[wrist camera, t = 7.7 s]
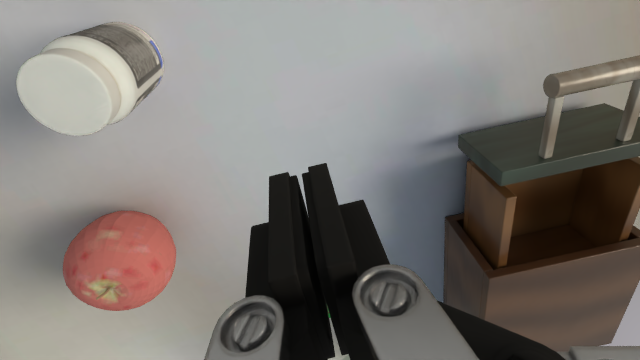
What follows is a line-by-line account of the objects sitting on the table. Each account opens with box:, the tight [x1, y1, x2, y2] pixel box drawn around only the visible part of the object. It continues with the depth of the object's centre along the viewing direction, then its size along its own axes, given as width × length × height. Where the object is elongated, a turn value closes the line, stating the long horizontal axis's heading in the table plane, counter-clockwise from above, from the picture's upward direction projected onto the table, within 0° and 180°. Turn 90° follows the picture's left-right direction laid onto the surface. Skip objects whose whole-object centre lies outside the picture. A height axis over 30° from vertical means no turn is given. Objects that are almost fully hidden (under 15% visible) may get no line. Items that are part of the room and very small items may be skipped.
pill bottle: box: [16, 22, 164, 136], centre depth 20 cm, size 5×5×8 cm
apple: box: [63, 211, 176, 311], centre depth 27 cm, size 7×7×8 cm
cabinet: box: [444, 213, 640, 352], centre depth 34 cm, size 14×14×8 cm
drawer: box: [458, 55, 640, 270], centre depth 27 cm, size 18×12×6 cm
